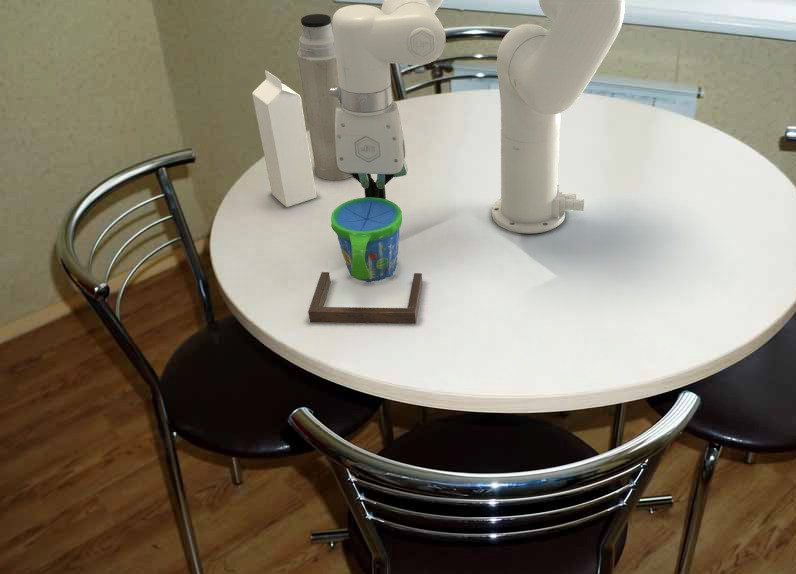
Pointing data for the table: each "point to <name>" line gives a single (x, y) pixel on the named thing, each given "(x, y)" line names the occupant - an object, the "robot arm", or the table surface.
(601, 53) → the robot arm
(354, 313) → the bay
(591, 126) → the table surface
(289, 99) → the milk
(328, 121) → the thermos bottle
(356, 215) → the snack cup
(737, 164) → the table surface
